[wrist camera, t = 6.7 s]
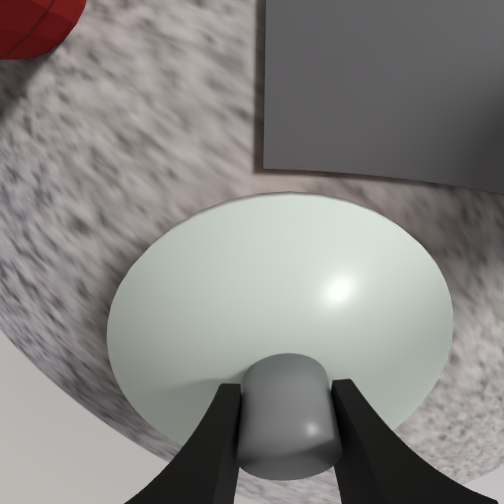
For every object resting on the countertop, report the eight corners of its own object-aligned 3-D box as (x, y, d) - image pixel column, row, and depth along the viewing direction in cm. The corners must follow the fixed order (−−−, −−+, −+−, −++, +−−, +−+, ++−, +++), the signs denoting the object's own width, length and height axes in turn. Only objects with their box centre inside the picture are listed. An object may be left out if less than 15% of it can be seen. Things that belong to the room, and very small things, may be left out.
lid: (474, 199, 8) (555, 238, 5) (396, 442, 13) (414, 500, 9) (82, 202, 9) (-2, 244, 5) (156, 448, 14) (139, 507, 10)
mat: (503, -23, 7) (507, -25, 7) (523, 198, 13) (528, 200, 12) (266, -94, 8) (266, -99, 7) (263, 167, 13) (263, 168, 13)
